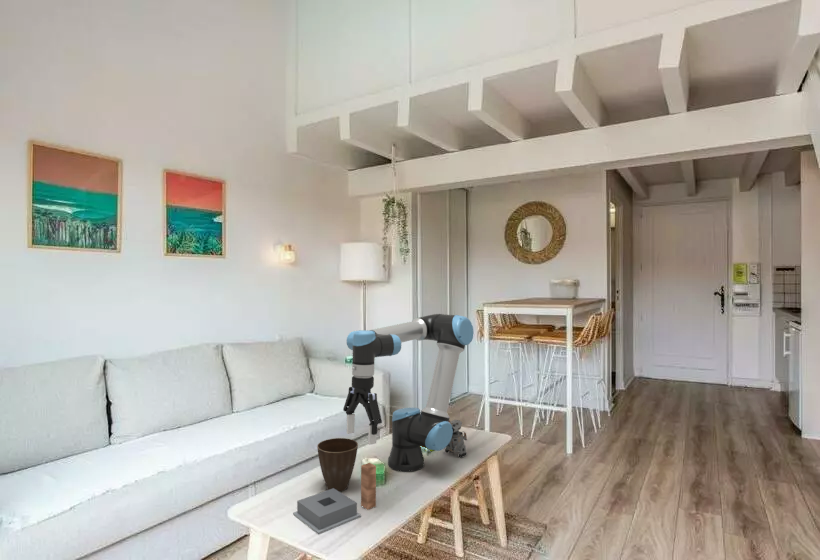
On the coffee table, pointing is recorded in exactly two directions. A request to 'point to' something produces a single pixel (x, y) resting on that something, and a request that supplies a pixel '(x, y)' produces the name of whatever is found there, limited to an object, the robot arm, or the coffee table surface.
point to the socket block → (326, 510)
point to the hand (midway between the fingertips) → (361, 438)
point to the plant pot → (337, 461)
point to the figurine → (457, 439)
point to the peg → (368, 486)
